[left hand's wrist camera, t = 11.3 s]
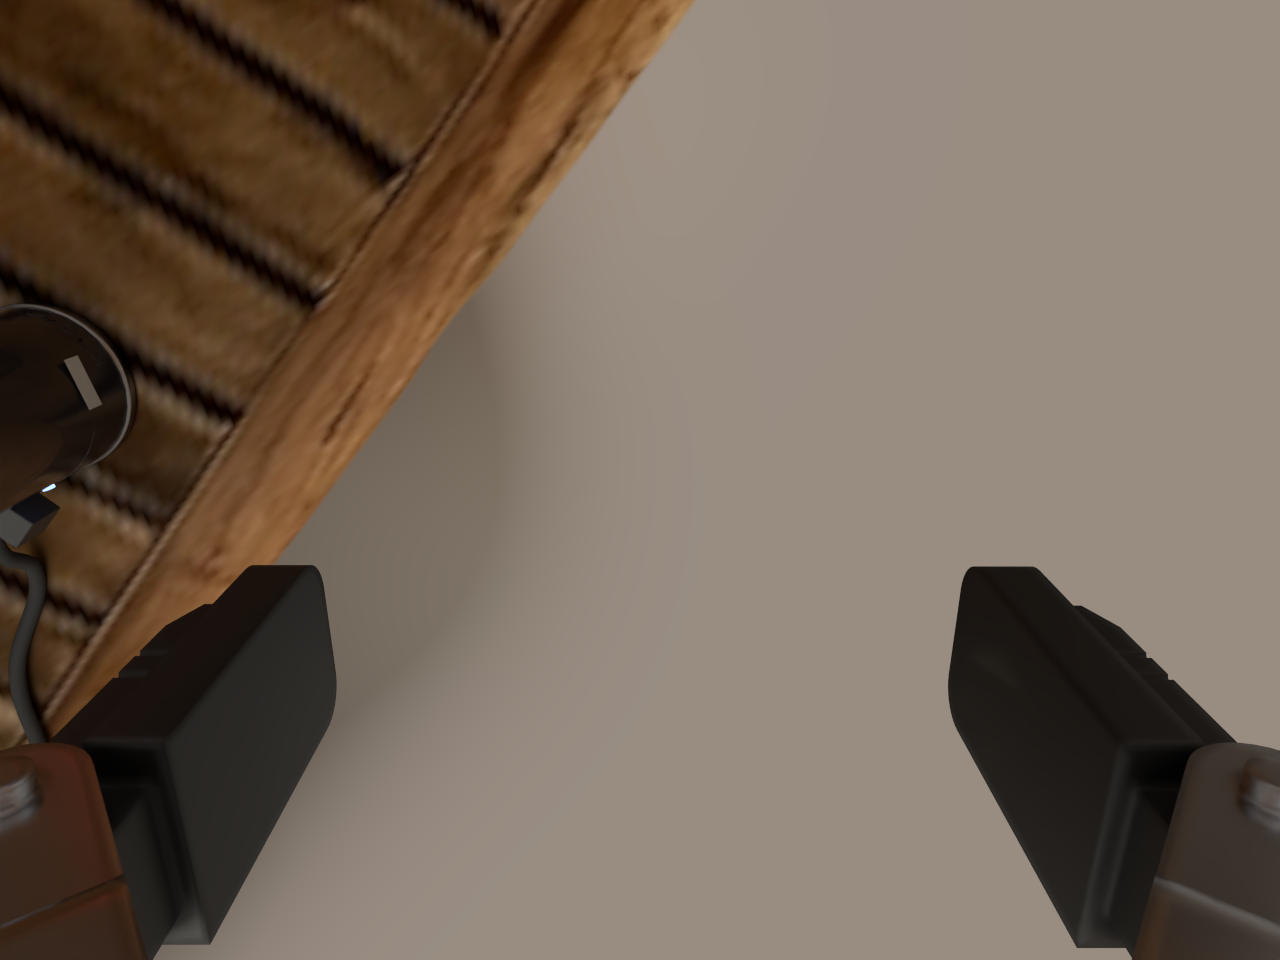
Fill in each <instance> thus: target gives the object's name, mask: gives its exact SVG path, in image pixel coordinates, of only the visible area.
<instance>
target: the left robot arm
mask: <svg viewBox="0 0 1280 960" xmlns="http://www.w3.org/2000/svg"><path fill="white" fill-rule="evenodd" d="M135 411H136V395H135V388H134V384H133V380H132V377H131V374H130V371H129V369H128V367H127V365H126V363H125V361H124V359H123V357H122V356H121V354H120V353H119V351H118V350H117V348H116V347H115V346H114V344H113V343H112V342H111V341H110V340H109V339H108V338H107V337H106V336H105V335H104V334H103V333H102V332H101V331H100V330H99V329H98V328H96V327H95V326H94V325H93V324H91V323H90V322H88V321H87V320H85V319H84V318H82V317H80V316H79V315H77V314H75V313H73V312H70V311H68V310H66V309H63V308H60V307H57V306H53V305H49V304H43V303H33V302H32V303H17V304H12V305H8V306H4V307H0V563H1V564H3V565H6V566H9V567H13V568H19V569H23V570H25V572H26V574H27V577H28V581H29V593H28V598H27V602H26V606H25V609H24V612H23V615H22V617H21V620H20V623H19V626H18V628H17V631H16V634H15V637H14V640H13V644H12V648H11V652H10V659H9V683H10V689H11V694H12V698H13V702H14V705H15V708H16V711H17V714H18V717H19V719H20V722H21V724H22V726H23V729H24V731H25V734H26V736H27V738H28V741H29V744H27V745H22V746H17V747H12V748H8V749H4V750H1V751H0V960H153V958H154V957H155V955H156V953H157V952H158V950H159V948H160V947H161V945H164V944H167V945H168V944H174V945H175V944H176V945H178V944H179V945H182V944H183V945H185V944H188V945H189V944H191V945H192V944H194V945H195V944H196V945H198V944H199V945H202V944H203V945H204V944H205V945H206V944H208V945H209V944H211V942H212V940H213V938H214V936H215V935H216V933H217V931H218V929H219V927H220V925H221V923H222V922H223V920H224V918H225V916H226V914H227V912H228V911H229V909H230V907H231V905H232V903H233V901H234V900H235V898H236V896H237V894H238V892H239V890H240V888H241V887H242V885H243V883H244V881H245V879H246V877H247V876H248V874H249V872H250V870H251V868H252V866H253V865H254V863H255V861H256V859H257V857H258V855H259V854H260V852H261V850H262V848H263V846H264V844H265V843H266V841H267V839H268V837H269V835H270V833H271V831H272V830H273V828H274V826H275V824H276V822H277V820H278V819H279V817H280V815H281V813H282V811H283V809H284V808H285V806H286V804H287V802H288V800H289V798H290V797H291V795H292V793H293V791H294V789H295V787H296V785H297V784H298V782H299V780H300V778H301V776H302V774H303V773H304V771H305V769H306V767H307V765H308V763H309V762H310V760H311V758H312V756H313V754H314V752H315V750H316V749H317V747H318V745H319V743H320V741H321V739H322V738H323V736H324V734H325V732H326V730H327V728H328V726H329V724H330V721H331V719H332V715H333V711H334V706H335V700H336V671H335V664H334V657H333V650H332V642H331V635H330V628H329V621H328V614H327V607H326V599H325V592H324V586H323V581H322V577H321V575H320V572H319V571H318V569H317V568H316V567H315V566H313V565H252V566H249V567H248V568H247V569H245V571H244V572H243V573H242V574H241V575H240V576H239V577H238V578H237V579H236V580H235V581H234V582H233V583H232V584H231V585H230V586H229V587H228V588H227V590H226V591H225V592H224V593H223V594H222V595H221V596H220V597H219V598H218V599H217V600H216V601H215V602H214V603H213V604H204V605H202V606H200V607H198V608H197V609H195V610H193V611H191V612H189V613H188V614H186V615H184V616H182V617H180V618H179V619H177V620H175V621H173V622H171V623H170V624H168V625H166V626H165V627H164V628H163V629H162V630H161V631H160V632H159V633H158V634H157V635H156V636H155V637H154V638H153V639H152V640H151V641H150V642H149V643H148V644H147V645H146V646H145V647H144V648H143V649H142V650H141V651H140V656H135V657H134V658H133V659H132V660H131V661H130V662H129V663H128V664H127V665H126V666H125V667H124V668H123V669H122V670H121V671H120V672H119V677H118V678H113V679H112V680H111V681H110V682H109V683H108V684H107V685H106V686H105V687H104V688H103V689H102V690H101V691H100V692H99V693H98V694H97V695H96V696H95V697H94V698H93V699H92V700H91V701H90V702H89V703H88V704H87V705H86V706H85V707H83V708H82V709H81V710H80V711H79V712H78V713H77V714H76V715H75V716H74V717H73V718H72V719H71V720H70V721H69V722H68V723H67V724H66V725H65V726H64V727H63V728H62V729H61V730H60V731H59V732H58V733H57V734H56V735H55V736H54V737H53V738H52V739H51V740H50V741H49V742H48V743H47V742H46V739H45V736H44V734H43V731H42V729H41V726H40V724H39V721H38V719H37V716H36V714H35V711H34V708H33V706H32V703H31V699H30V696H29V692H28V687H27V679H26V661H27V654H28V650H29V646H30V643H31V639H32V636H33V634H34V631H35V628H36V625H37V623H38V620H39V617H40V614H41V611H42V608H43V604H44V600H45V596H46V586H47V584H46V577H45V573H44V570H43V567H42V565H41V563H40V561H39V560H38V559H36V558H35V557H32V556H30V555H27V554H23V553H17V552H13V551H12V550H10V548H9V547H8V546H7V544H6V543H5V542H7V543H9V544H10V545H12V546H13V547H15V548H18V547H19V546H21V545H22V544H24V543H26V542H27V541H29V540H30V539H32V538H33V537H35V536H37V535H38V534H40V533H41V532H43V531H44V530H45V529H46V527H47V526H48V525H49V523H50V522H51V520H52V519H53V518H54V516H55V515H56V513H57V512H58V510H59V509H60V507H59V506H57V505H56V504H54V503H53V502H52V501H50V500H49V499H47V498H46V497H44V496H43V495H41V494H40V493H39V492H41V491H42V490H43V491H47V490H50V489H52V488H54V487H55V485H54V484H55V483H56V482H59V481H61V480H62V479H64V478H66V477H68V476H70V475H71V474H73V473H75V472H77V471H79V470H80V469H82V468H84V467H87V466H90V465H92V464H94V463H96V462H98V461H100V460H102V459H103V458H105V457H107V456H109V455H110V454H111V453H113V452H114V451H115V450H116V449H117V448H118V447H119V446H120V445H121V444H122V443H123V442H124V440H125V439H126V437H127V436H128V434H129V432H130V430H131V428H132V425H133V422H134V417H135ZM948 694H949V704H950V710H951V714H952V718H953V721H954V724H955V726H956V728H957V731H958V732H959V734H960V736H961V738H962V740H963V741H964V743H965V745H966V747H967V749H968V751H969V752H970V754H971V756H972V758H973V760H974V761H975V763H976V765H977V767H978V769H979V771H980V772H981V774H982V776H983V778H984V780H985V781H986V783H987V785H988V787H989V789H990V791H991V792H992V794H993V796H994V798H995V800H996V801H997V803H998V805H999V807H1000V809H1001V811H1002V812H1003V814H1004V816H1005V818H1006V820H1007V821H1008V823H1009V825H1010V827H1011V829H1012V830H1013V832H1014V834H1015V836H1016V838H1017V840H1018V841H1019V843H1020V845H1021V847H1022V849H1023V850H1024V852H1025V854H1026V856H1027V858H1028V860H1029V861H1030V863H1031V865H1032V867H1033V869H1034V870H1035V872H1036V874H1037V876H1038V878H1039V880H1040V881H1041V883H1042V885H1043V887H1044V889H1045V890H1046V892H1047V894H1048V896H1049V898H1050V900H1051V901H1052V903H1053V905H1054V907H1055V909H1056V911H1057V912H1058V914H1059V916H1060V918H1061V920H1062V921H1063V923H1064V925H1065V927H1066V929H1067V931H1068V932H1069V934H1070V936H1071V938H1072V939H1073V941H1074V943H1075V945H1076V947H1077V948H1126V949H1127V951H1128V952H1129V954H1130V955H1131V957H1132V960H1280V751H1279V750H1276V749H1272V748H1268V747H1263V746H1258V745H1253V744H1244V743H1237V742H1236V741H1235V740H1234V739H1233V738H1232V737H1231V736H1230V735H1229V734H1228V733H1227V732H1226V731H1225V730H1224V729H1223V728H1222V727H1221V726H1220V725H1219V724H1218V723H1217V722H1216V721H1215V720H1214V719H1213V718H1212V717H1211V716H1210V715H1209V714H1208V713H1207V712H1206V711H1205V710H1204V709H1203V708H1202V707H1201V706H1200V705H1199V704H1197V703H1196V702H1195V701H1194V700H1193V699H1192V698H1191V697H1190V696H1189V695H1188V694H1187V693H1186V692H1185V691H1184V690H1183V689H1182V688H1181V687H1180V686H1179V685H1178V684H1177V683H1176V682H1175V681H1174V680H1168V674H1167V673H1166V672H1165V671H1164V670H1163V669H1162V668H1161V667H1160V666H1159V665H1158V664H1157V663H1156V662H1155V661H1154V660H1153V659H1152V658H1147V657H1146V652H1145V651H1144V650H1143V649H1142V648H1141V647H1140V646H1139V645H1138V644H1137V643H1136V642H1135V641H1134V640H1133V639H1132V638H1131V637H1130V636H1129V635H1128V634H1127V633H1126V632H1125V631H1123V629H1121V628H1120V627H1119V626H1117V625H1115V624H1113V623H1111V622H1110V621H1108V620H1106V619H1104V618H1102V617H1101V616H1099V615H1097V614H1095V613H1093V612H1092V611H1090V610H1088V609H1086V608H1084V607H1083V606H1073V605H1072V604H1071V603H1070V602H1069V601H1068V600H1067V599H1066V598H1065V596H1064V595H1063V594H1062V593H1061V592H1060V591H1059V590H1058V589H1057V588H1056V587H1055V586H1054V585H1053V584H1052V583H1051V582H1050V581H1049V580H1048V579H1047V578H1046V577H1045V576H1044V575H1043V574H1042V572H1041V571H1040V570H1038V569H1037V568H1035V567H971V568H969V569H968V570H967V572H966V574H965V576H964V578H963V582H962V586H961V593H960V600H959V607H958V614H957V621H956V628H955V635H954V642H953V649H952V656H951V663H950V670H949V679H948Z"/></svg>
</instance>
